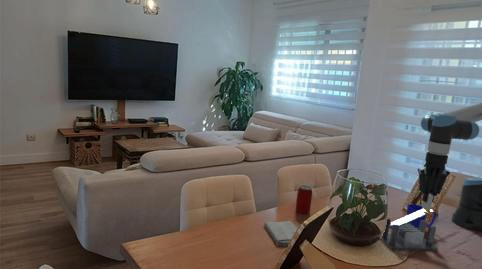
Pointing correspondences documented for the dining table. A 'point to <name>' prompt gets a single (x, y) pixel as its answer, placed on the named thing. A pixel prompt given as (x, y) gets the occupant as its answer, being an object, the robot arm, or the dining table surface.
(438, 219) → the dining table surface
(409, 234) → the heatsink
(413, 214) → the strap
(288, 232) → the washcloth
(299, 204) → the beverage can
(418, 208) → the mug
